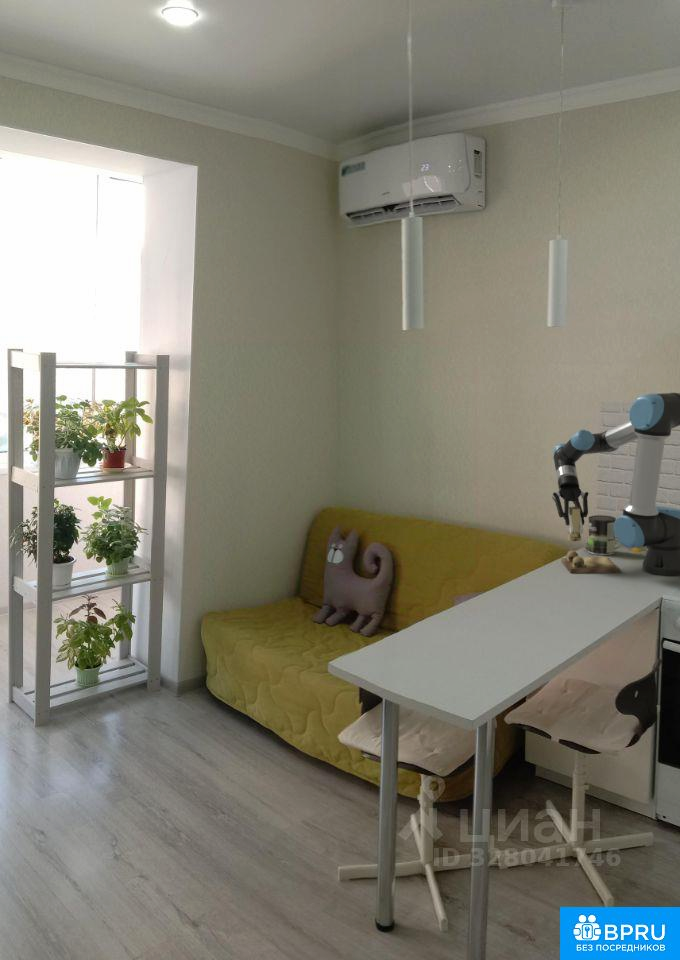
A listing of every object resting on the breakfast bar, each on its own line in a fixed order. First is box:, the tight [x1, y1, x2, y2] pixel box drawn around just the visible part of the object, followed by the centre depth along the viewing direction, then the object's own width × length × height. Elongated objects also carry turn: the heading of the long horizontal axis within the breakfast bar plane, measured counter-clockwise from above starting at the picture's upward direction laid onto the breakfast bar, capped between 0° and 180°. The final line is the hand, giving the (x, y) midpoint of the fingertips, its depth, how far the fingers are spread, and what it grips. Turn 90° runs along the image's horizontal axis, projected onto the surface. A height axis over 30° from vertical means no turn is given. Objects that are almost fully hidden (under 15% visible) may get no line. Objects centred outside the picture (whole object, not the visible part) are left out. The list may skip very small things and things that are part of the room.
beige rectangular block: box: [566, 506, 582, 542], centre depth 300 cm, size 4×5×12 cm
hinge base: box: [561, 549, 621, 574], centre depth 301 cm, size 18×16×5 cm
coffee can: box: [587, 514, 617, 556], centre depth 323 cm, size 10×10×14 cm
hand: (576, 531), depth 297 cm, fingers closed on beige rectangular block, 3 cm apart
